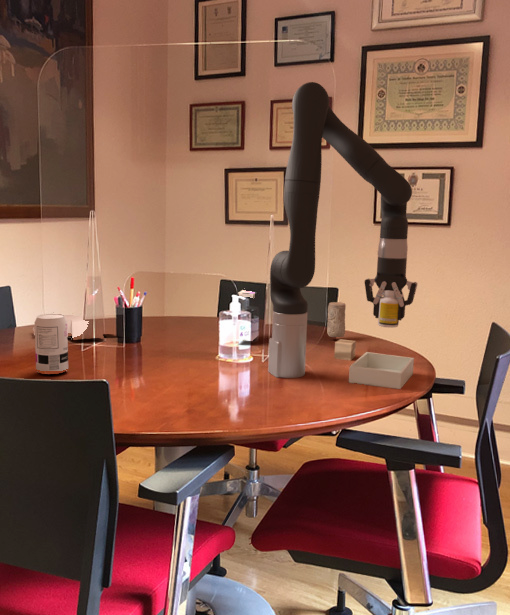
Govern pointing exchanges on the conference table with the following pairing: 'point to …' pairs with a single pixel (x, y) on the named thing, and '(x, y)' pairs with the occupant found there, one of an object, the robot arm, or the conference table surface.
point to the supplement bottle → (388, 310)
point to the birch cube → (345, 349)
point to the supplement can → (51, 342)
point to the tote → (381, 370)
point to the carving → (336, 319)
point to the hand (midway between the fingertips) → (388, 318)
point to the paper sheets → (74, 325)
